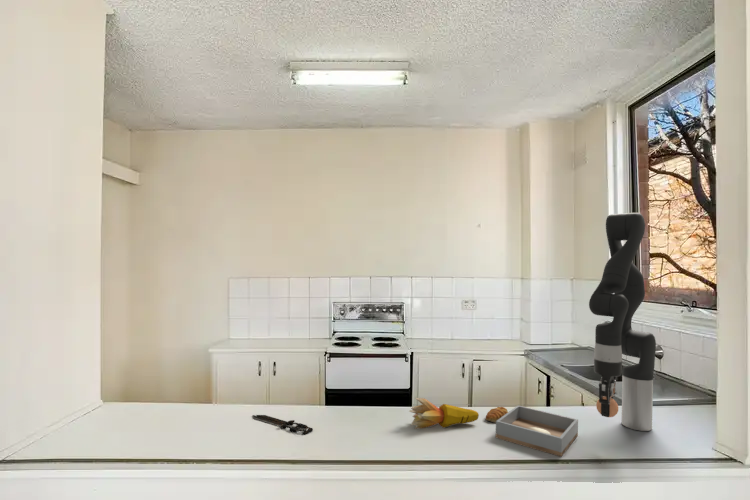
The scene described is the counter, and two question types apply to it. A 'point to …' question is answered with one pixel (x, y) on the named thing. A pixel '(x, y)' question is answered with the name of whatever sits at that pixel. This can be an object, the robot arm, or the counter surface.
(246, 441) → the counter surface
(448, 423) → the torch
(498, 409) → the pastry
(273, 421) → the knife
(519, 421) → the pen board
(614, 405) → the brown egg
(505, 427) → the pen walls
